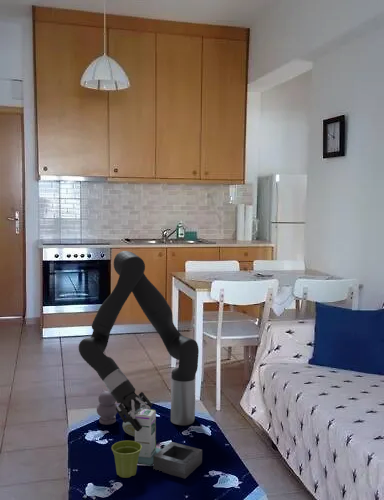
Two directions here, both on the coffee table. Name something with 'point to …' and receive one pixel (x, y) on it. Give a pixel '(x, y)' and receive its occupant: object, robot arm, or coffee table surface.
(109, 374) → the robot arm
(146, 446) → the syrup box
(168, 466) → the collar
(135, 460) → the plant pot
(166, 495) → the coffee table surface
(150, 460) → the mat
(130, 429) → the air freshener
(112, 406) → the cat figurine
